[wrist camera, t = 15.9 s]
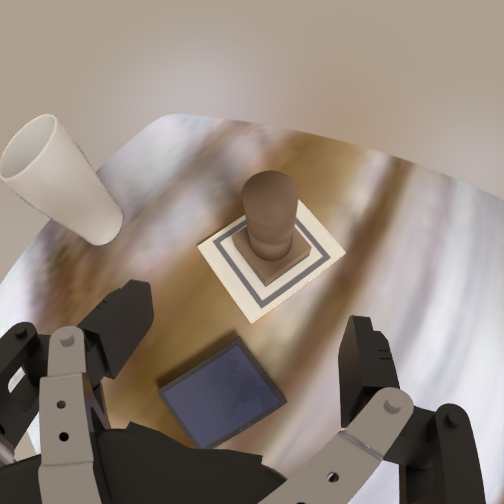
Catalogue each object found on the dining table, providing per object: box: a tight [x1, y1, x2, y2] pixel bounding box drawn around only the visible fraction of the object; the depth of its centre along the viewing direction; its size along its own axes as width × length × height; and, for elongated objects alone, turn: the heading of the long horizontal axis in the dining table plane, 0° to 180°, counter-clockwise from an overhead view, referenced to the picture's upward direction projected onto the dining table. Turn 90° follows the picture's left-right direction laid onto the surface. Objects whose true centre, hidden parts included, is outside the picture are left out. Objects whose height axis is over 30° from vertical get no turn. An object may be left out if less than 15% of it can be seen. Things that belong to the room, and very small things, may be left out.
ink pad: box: [157, 337, 287, 449], centre depth 23 cm, size 9×7×1 cm
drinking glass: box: [0, 114, 123, 246], centre depth 24 cm, size 7×7×15 cm
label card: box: [197, 199, 346, 323], centre depth 28 cm, size 11×9×1 cm
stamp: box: [231, 171, 312, 287], centre depth 23 cm, size 5×5×10 cm
